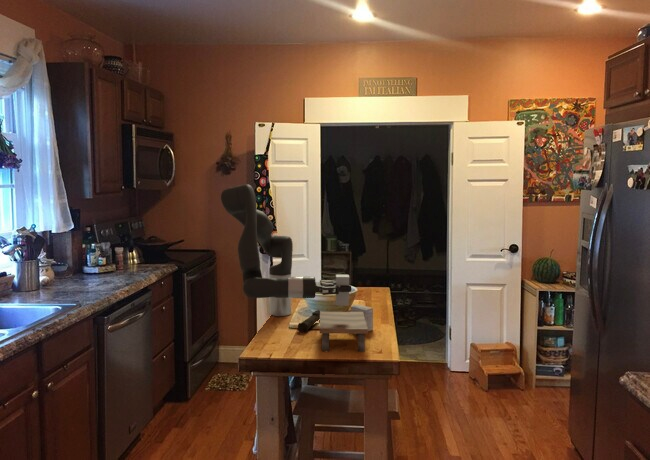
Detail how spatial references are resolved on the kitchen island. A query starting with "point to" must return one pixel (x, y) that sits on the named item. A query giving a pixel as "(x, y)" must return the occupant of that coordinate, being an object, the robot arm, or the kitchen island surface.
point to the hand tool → (309, 322)
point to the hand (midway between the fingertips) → (349, 286)
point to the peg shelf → (343, 326)
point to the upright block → (342, 296)
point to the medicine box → (365, 314)
